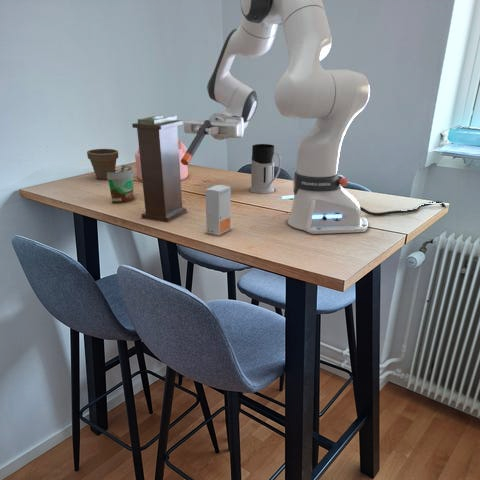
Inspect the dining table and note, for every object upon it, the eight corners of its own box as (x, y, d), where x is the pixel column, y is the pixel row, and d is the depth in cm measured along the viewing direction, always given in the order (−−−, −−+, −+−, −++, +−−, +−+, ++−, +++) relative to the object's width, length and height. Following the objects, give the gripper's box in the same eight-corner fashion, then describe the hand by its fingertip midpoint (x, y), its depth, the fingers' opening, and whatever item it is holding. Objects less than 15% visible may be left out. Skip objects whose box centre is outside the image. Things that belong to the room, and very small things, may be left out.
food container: (128, 205, 150) (124, 173, 145) (110, 204, 151) (106, 172, 146) (142, 195, 160) (139, 165, 155) (126, 194, 161) (122, 164, 156)
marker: (205, 125, 155) (203, 119, 153) (212, 126, 155) (210, 120, 153) (182, 164, 147) (179, 158, 145) (188, 165, 146) (186, 159, 144)
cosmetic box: (219, 236, 125) (218, 191, 119) (206, 233, 127) (204, 188, 121) (231, 229, 130) (231, 186, 124) (218, 227, 132) (217, 184, 126)
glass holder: (264, 185, 172) (266, 142, 165) (289, 194, 162) (291, 149, 154) (245, 189, 168) (245, 145, 160) (268, 198, 158) (270, 151, 150)
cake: (142, 171, 192) (139, 134, 185) (191, 171, 192) (189, 134, 185) (132, 183, 175) (128, 143, 168) (186, 183, 175) (183, 143, 168)
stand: (163, 207, 148) (155, 114, 134) (187, 211, 145) (182, 115, 131) (141, 218, 139) (131, 118, 125) (167, 222, 135) (159, 120, 122)
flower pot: (126, 175, 186) (123, 148, 181) (113, 182, 177) (109, 154, 172) (99, 173, 189) (95, 147, 184) (85, 180, 179) (81, 152, 174)
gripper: (194, 114, 165) (173, 119, 154) (247, 117, 157) (230, 122, 146) (195, 133, 168) (175, 139, 157) (247, 137, 160) (230, 143, 150)
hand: (202, 131), depth 152 cm, fingers closed on marker, 2 cm apart
